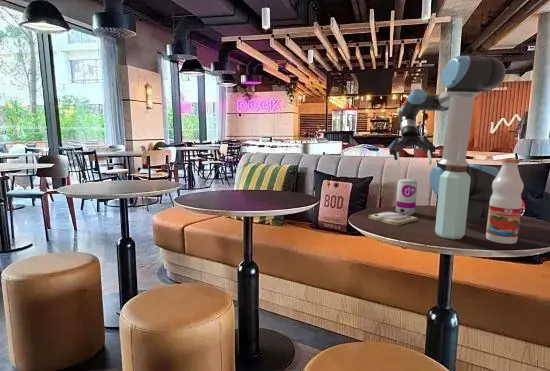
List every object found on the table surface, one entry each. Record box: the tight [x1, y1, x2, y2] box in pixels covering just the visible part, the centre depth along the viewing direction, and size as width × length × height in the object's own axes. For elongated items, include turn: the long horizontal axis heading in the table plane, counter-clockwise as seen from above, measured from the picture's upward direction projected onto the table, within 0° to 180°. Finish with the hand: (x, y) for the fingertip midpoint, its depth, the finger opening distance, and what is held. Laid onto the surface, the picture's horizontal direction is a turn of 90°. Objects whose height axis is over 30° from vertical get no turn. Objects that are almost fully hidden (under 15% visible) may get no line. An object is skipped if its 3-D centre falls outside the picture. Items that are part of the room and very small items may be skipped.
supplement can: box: [395, 178, 418, 216], centre depth 168 cm, size 8×8×15 cm
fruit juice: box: [485, 158, 525, 245], centre depth 129 cm, size 9×9×28 cm
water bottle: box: [434, 165, 471, 240], centre depth 133 cm, size 10×10×25 cm
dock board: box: [367, 210, 418, 226], centre depth 157 cm, size 14×14×2 cm
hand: (414, 163), depth 171 cm, fingers open, 13 cm apart
